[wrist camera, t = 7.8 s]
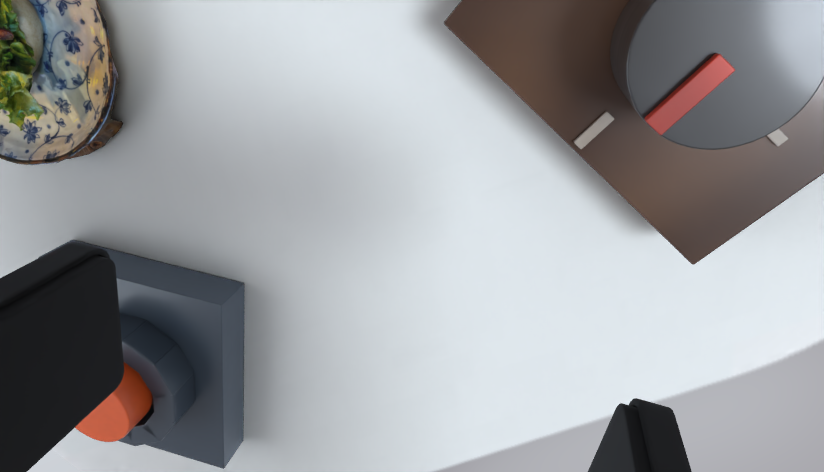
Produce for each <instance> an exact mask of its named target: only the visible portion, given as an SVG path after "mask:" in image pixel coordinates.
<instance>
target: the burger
mask: <svg viewBox="0 0 824 472" xmlns="http://www.w3.org/2000/svg"><path fill="white" fill-rule="evenodd" d="M117 85H118V73H117V70H116V68H115V65H114V62H113V58H112V54H111V50H110V44H109V33H108V29H107V25H106V21H105V19H104V17H103V14H102V12H101V9H100V6H99V4H98V2H97V0H0V158H1V159H4V160H6V161H9V162H13V163H17V164H24V165H37V164H51V163H57V162H60V161H62V160H64V159H71V158H75V157H79V156H83V155H87V154H90V153H92V152H93V151H95V150H97V149H99V148H101V147H103V146H104V145H105V144H106V142H107V141H108V140H109V139H110V138H112V137H113V136H114V135H115V134H117V132H118V131H119V130H120V128H121V127H122V125H123V122H122V121H120V122H119V121H116V120H111V115H112V110H113V107H114V102H115V99H116V90H117Z"/></svg>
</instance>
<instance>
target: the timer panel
mask: <svg viewBox="0 0 824 472" xmlns="http://www.w3.org/2000/svg"><path fill="white" fill-rule="evenodd" d="M629 1H630V0H462V1H461V2H460V3H459V4H458V5H457V7H456V8H455V9H454V10H453V11H452V13H451V14H450V15H449V16H448V18H447V19H446V20H445V21H444V25H445V26H446V27H447V28H448V29H449V30H451V31H452V32H453V33H454V34H455V35H456V36H457V37H458V38H459V39H460V40H461V41H462V42H463V43H464V44H465V45H466V46H467V47H468V48H469V49H470V50H471V51H472V52H473V53H474V54H475V55H476V56H477V57H478V58H479V59H480V60H482V61H483V62H484V63H485V64H486V65H487V66H488V67H489V68H490V69H491V70H492V71H493V72H494V73H495V74H496V75H497V76H498V77H499V78H500V79H501V80H502V81H503V82H504V83H505V84H506V85H507V86H508V87H509V88H510V89H511V90H513V91H514V92H515V93H516V94H517V95H518V96H519V97H520V98H521V99H522V100H523V101H524V102H525V103H526V104H527V105H528V106H529V107H530V108H531V109H532V110H533V111H534V112H535V113H536V114H537V115H538V116H539V117H540V118H541V119H542V120H544V121H545V122H546V123H547V124H548V125H549V126H550V127H551V128H552V129H553V130H554V131H555V132H556V133H557V134H558V135H559V136H560V137H561V138H562V139H563V140H564V141H565V142H566V143H567V144H568V145H569V146H570V147H571V148H572V149H573V150H575V151H576V152H577V153H578V154H579V155H580V156H581V157H582V158H583V159H584V160H585V161H586V162H587V163H588V164H589V165H590V166H591V167H592V168H593V169H594V170H595V171H596V172H597V173H598V174H599V175H600V176H601V177H602V178H603V179H604V180H606V181H607V182H608V183H609V184H610V185H611V186H612V187H613V188H614V189H615V190H616V191H617V192H618V193H619V194H620V195H621V196H622V197H623V198H624V199H625V200H626V201H627V202H628V203H629V204H630V205H631V206H632V207H633V208H634V209H635V210H637V211H638V212H639V213H640V214H641V215H642V216H643V217H644V218H645V219H646V220H647V221H648V222H649V223H650V224H651V225H652V226H653V227H654V228H655V229H656V230H657V231H658V232H659V233H660V234H661V235H662V236H663V237H664V238H665V239H666V240H668V241H669V242H670V243H671V244H672V245H673V246H674V247H675V248H676V249H677V250H678V251H679V252H680V253H681V254H682V255H683V256H684V257H685V258H686V259H687V260H688V261H689V262H690V263H691V264H695V263H697V262H698V261H700V260H701V259H702V258H704V257H705V256H707V255H708V254H710V253H711V252H712V251H714V250H715V249H717V248H718V247H720V246H721V245H722V244H724V243H725V242H727V241H728V240H729V239H731V238H732V237H734V236H735V235H737V234H738V233H739V232H741V231H742V230H744V229H745V228H747V227H748V226H749V225H751V224H752V223H754V222H755V221H756V220H758V219H759V218H761V217H762V216H764V215H765V214H766V213H768V212H769V211H771V210H772V209H774V208H775V207H776V206H778V205H779V204H781V203H782V202H784V201H785V200H786V199H788V198H789V197H791V196H792V195H793V194H795V193H796V192H798V191H799V190H801V189H802V188H803V187H805V186H806V185H808V184H809V183H811V182H812V181H813V180H815V179H816V178H818V177H819V176H820V175H822V174H823V173H824V79H823V81H822V83H821V85H820V86H819V88H818V90H817V91H816V93H815V94H814V95H813V97H812V98H811V100H810V101H809V102H808V103H807V104H806V105H805V107H804V108H803V109H802V110H801V111H800V112H799V113H798V114H797V115H796V116H794V117H793V118H792V119H791V120H790V121H789V122H787V123H786V124H784V125H783V126H782V127H780V128H779V129H777V130H776V131H774V132H772V133H770V134H769V135H767V136H765V137H763V138H761V139H758V140H756V141H754V142H751V143H748V144H745V145H742V146H738V147H733V148H728V149H718V150H703V149H695V148H689V147H685V146H682V145H678V144H676V143H674V142H671V141H669V140H667V139H665V138H664V137H662V136H660V135H659V134H657V133H656V132H655V131H654V130H652V129H651V128H650V127H649V126H648V125H647V124H646V123H645V122H644V120H643V119H642V118H641V117H640V115H639V114H638V113H637V111H636V110H635V109H634V107H633V106H632V105H631V103H630V102H629V100H628V99H627V98H626V96H625V95H624V94H623V92H622V91H621V89H620V88H619V86H618V84H617V82H616V80H615V78H614V75H613V71H612V67H611V61H610V47H611V39H612V35H613V31H614V28H615V26H616V23H617V20H618V18H619V16H620V15H621V13H622V11H623V9H624V8H625V6H626V5H627V3H628V2H629Z"/></svg>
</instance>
